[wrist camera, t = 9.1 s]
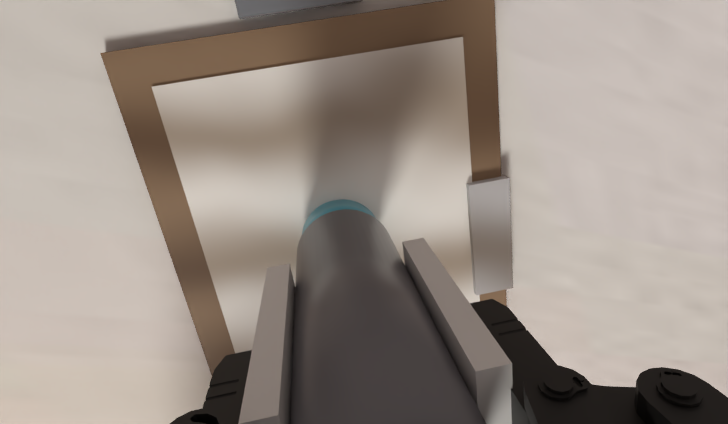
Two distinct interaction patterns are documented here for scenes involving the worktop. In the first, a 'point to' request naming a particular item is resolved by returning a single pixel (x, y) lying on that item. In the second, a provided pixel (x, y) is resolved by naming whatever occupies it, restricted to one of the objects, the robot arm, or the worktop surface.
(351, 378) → the grey and teal cylinder
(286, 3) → the grey slotted plate
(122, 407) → the worktop surface
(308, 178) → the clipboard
